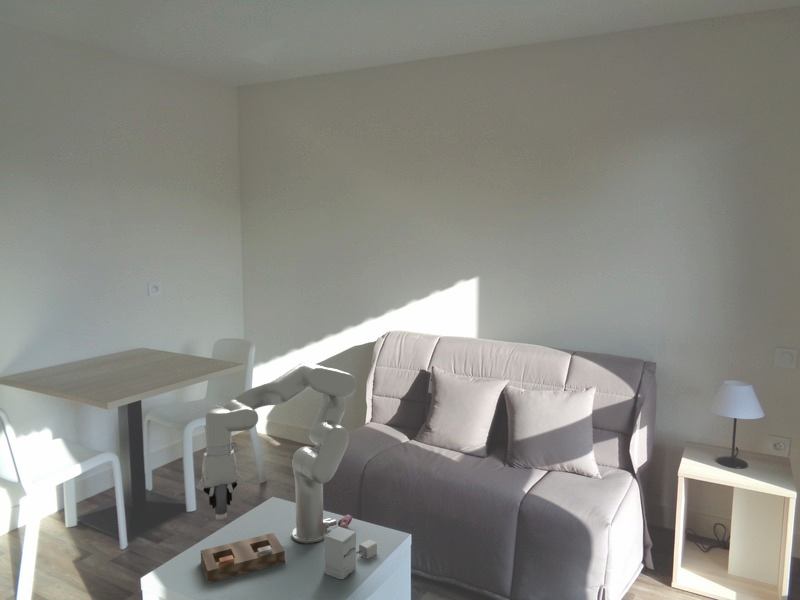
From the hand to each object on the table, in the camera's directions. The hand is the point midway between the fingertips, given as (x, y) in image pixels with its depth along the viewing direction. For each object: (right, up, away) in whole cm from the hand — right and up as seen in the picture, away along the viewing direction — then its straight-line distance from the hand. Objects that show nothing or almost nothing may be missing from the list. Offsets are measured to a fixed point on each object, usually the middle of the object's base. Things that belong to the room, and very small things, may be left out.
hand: (220, 504), depth 183 cm
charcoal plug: (0, -4, 0) cm, 4 cm away
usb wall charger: (+45, -21, +9) cm, 50 cm away
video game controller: (+36, -19, +24) cm, 47 cm away
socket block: (+6, -21, +5) cm, 22 cm away
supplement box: (+38, -21, 0) cm, 43 cm away
